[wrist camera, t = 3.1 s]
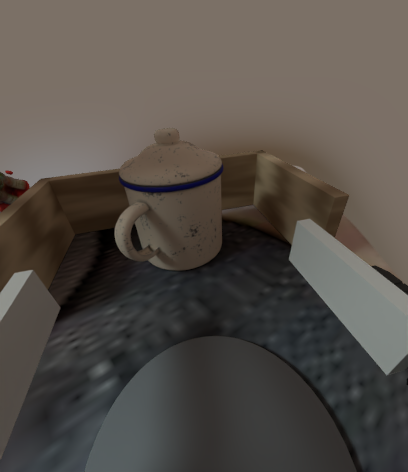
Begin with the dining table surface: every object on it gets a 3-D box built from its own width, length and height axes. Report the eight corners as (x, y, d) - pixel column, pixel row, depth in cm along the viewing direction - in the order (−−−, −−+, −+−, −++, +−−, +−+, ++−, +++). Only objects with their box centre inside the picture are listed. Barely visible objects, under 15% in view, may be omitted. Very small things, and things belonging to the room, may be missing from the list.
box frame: (67, 230, 28) (40, 178, 24) (257, 199, 32) (262, 150, 28) (10, 334, 16) (-63, 266, 12) (324, 265, 20) (349, 195, 16)
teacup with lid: (172, 218, 29) (156, 121, 22) (236, 232, 25) (239, 120, 18) (101, 277, 20) (40, 149, 14) (181, 313, 17) (150, 160, 10)
